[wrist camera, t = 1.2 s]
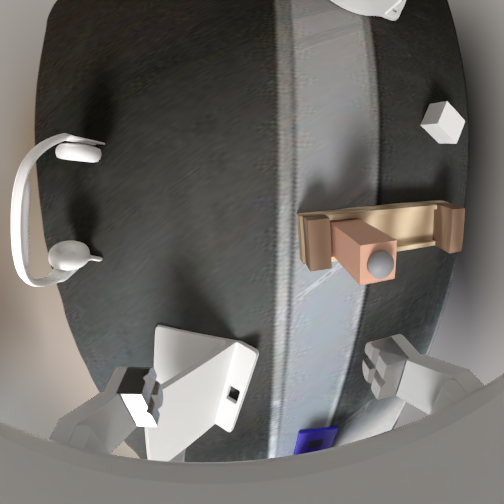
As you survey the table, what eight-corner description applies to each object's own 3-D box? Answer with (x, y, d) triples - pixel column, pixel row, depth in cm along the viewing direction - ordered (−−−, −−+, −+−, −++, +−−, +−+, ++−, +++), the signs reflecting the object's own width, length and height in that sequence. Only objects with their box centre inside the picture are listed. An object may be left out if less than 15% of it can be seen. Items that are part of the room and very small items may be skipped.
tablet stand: (154, 409, 53) (138, 469, 37) (156, 323, 45) (126, 393, 29) (233, 423, 55) (233, 485, 39) (259, 342, 47) (267, 418, 31)
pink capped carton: (330, 252, 40) (363, 289, 28) (329, 221, 38) (364, 248, 27) (359, 248, 40) (398, 281, 28) (358, 218, 38) (401, 243, 27)
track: (300, 258, 42) (311, 277, 35) (296, 213, 40) (308, 224, 33) (440, 238, 42) (463, 250, 36) (441, 200, 40) (467, 208, 33)
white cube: (419, 125, 36) (437, 123, 31) (429, 104, 35) (446, 100, 30) (438, 143, 37) (456, 143, 32) (447, 122, 35) (465, 121, 31)
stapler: (339, 424, 57) (349, 453, 48) (320, 469, 66) (326, 493, 57) (294, 430, 57) (301, 462, 48) (285, 474, 66) (288, 498, 57)
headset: (81, 134, 34) (3, 130, 17) (119, 138, 35) (46, 132, 18) (69, 253, 40) (4, 301, 23) (102, 263, 41) (43, 319, 24)
